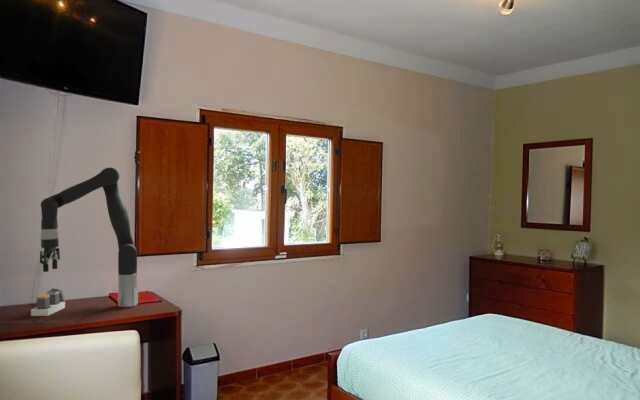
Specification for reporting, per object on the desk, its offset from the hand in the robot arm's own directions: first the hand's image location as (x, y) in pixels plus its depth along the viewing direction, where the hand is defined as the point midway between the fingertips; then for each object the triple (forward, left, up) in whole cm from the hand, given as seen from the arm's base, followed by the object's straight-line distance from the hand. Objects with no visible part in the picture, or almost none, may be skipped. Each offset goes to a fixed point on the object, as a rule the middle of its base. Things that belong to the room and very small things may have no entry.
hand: (50, 270), depth 224 cm
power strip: (+1, -1, -22) cm, 22 cm away
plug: (+1, +4, -21) cm, 21 cm away
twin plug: (+1, -5, -21) cm, 22 cm away
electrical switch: (+6, -19, -22) cm, 30 cm away
